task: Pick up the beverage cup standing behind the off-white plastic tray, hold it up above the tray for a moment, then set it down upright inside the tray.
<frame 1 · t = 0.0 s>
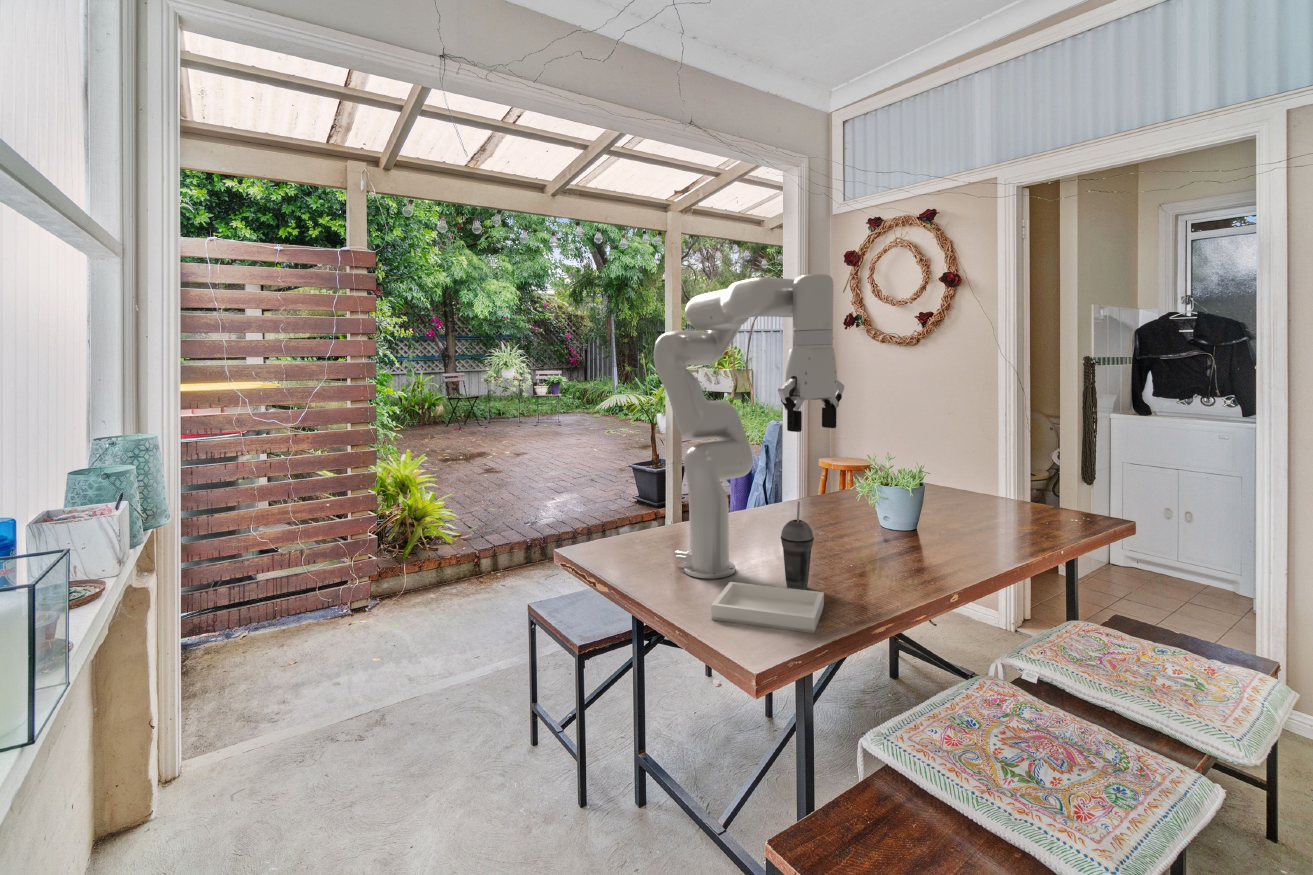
hand: (812, 429, 123), 37 cm above the table, tool pointing down, fingers open, 9 cm apart
beverage cup: (796, 588, 141), on the table
tray: (768, 612, 127), on the table
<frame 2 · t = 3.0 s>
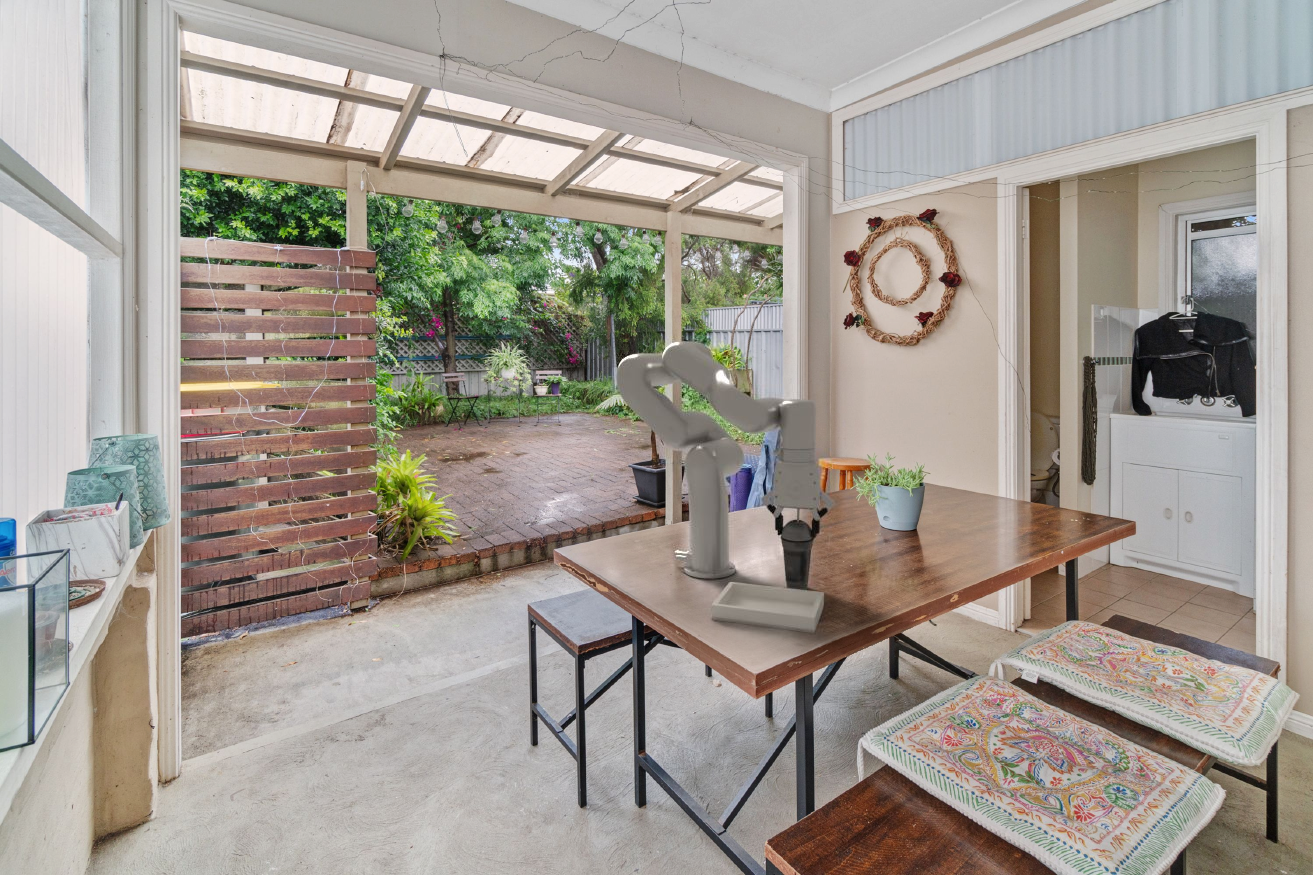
hand: (797, 534, 140), 12 cm above the table, tool pointing down, fingers closed on beverage cup, 6 cm apart
beverage cup: (796, 588, 141), on the table, touching gripper
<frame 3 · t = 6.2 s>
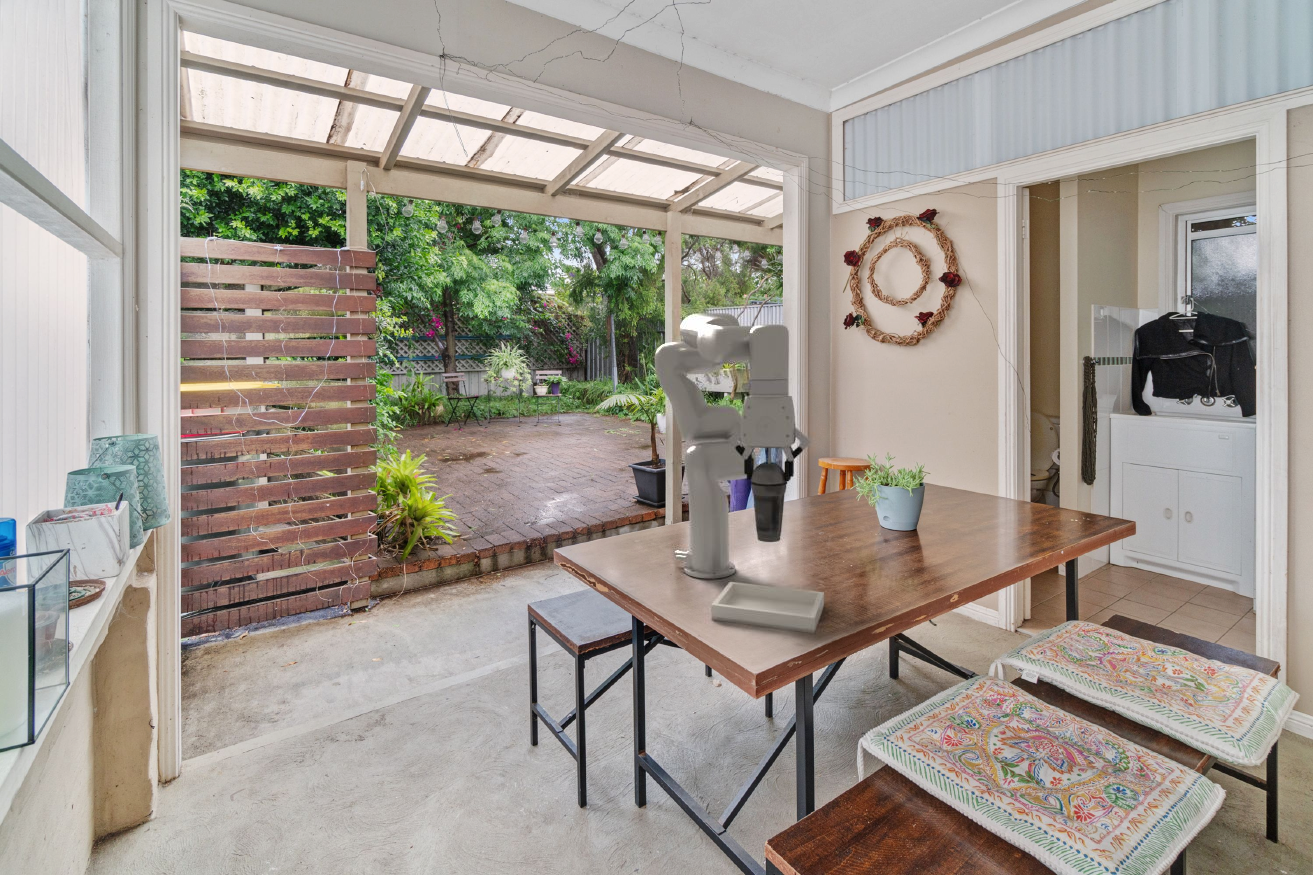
hand: (768, 478, 124), 28 cm above the table, tool pointing down, fingers closed on beverage cup, 6 cm apart
beverage cup: (768, 539, 126), point 15 cm above the table, touching gripper
when the fingers open (15 cm above the table, at t = 9.7 s): beverage cup drops 2 cm, resting on tray.
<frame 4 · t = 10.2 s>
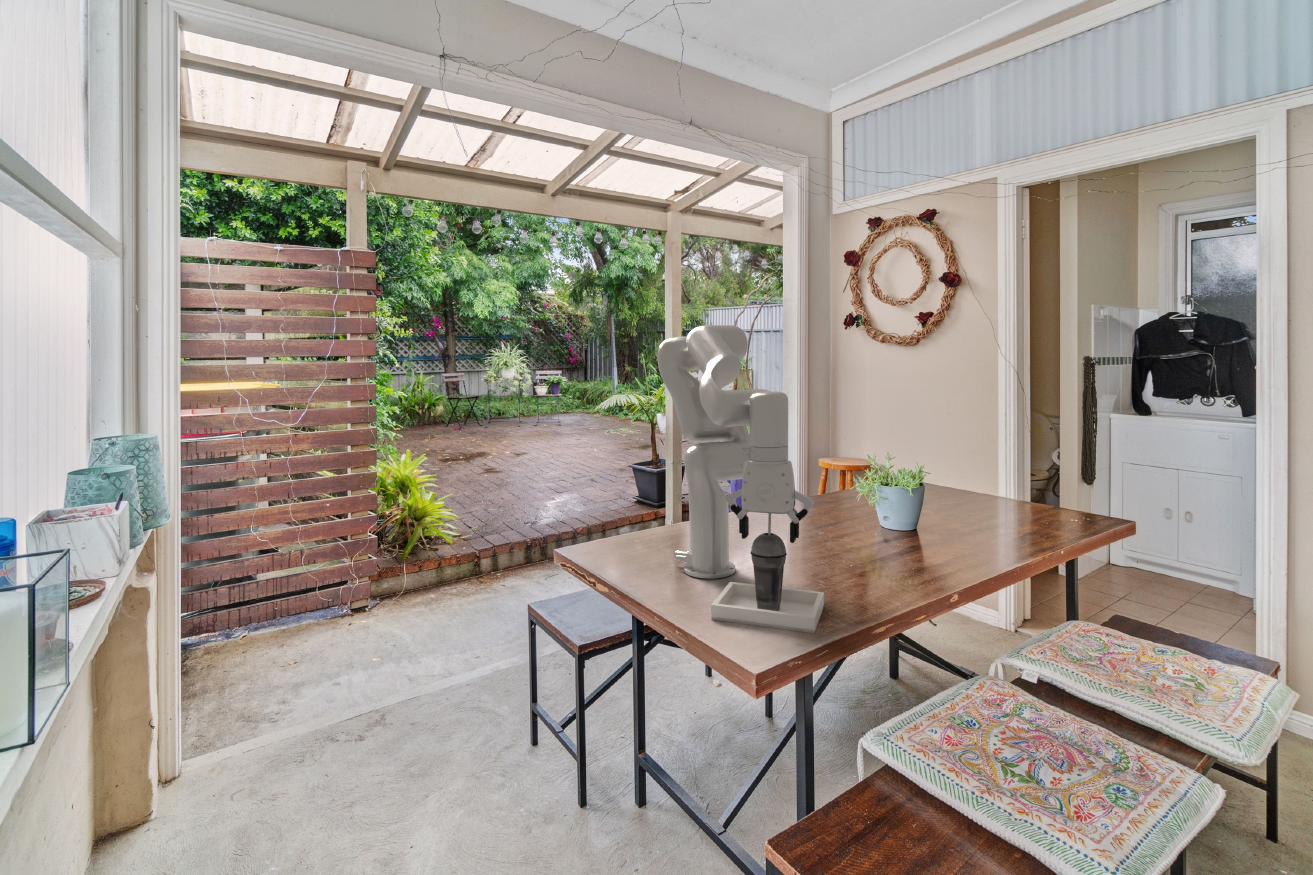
hand: (768, 539, 126), 15 cm above the table, tool pointing down, fingers open, 9 cm apart
beverage cup: (768, 609, 128), resting on tray
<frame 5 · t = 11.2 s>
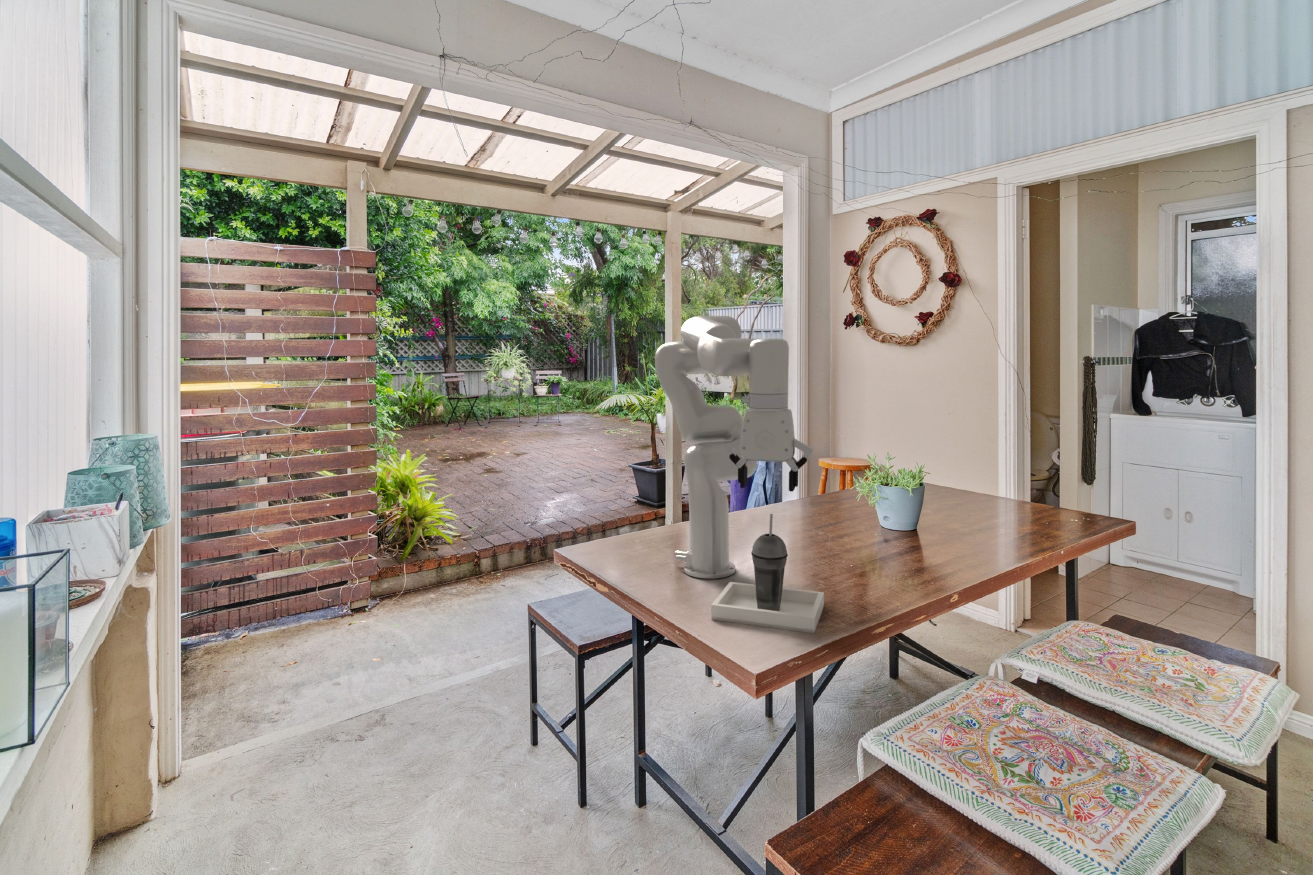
hand: (767, 488, 125), 26 cm above the table, tool pointing down, fingers open, 9 cm apart
nothing on the table moved.
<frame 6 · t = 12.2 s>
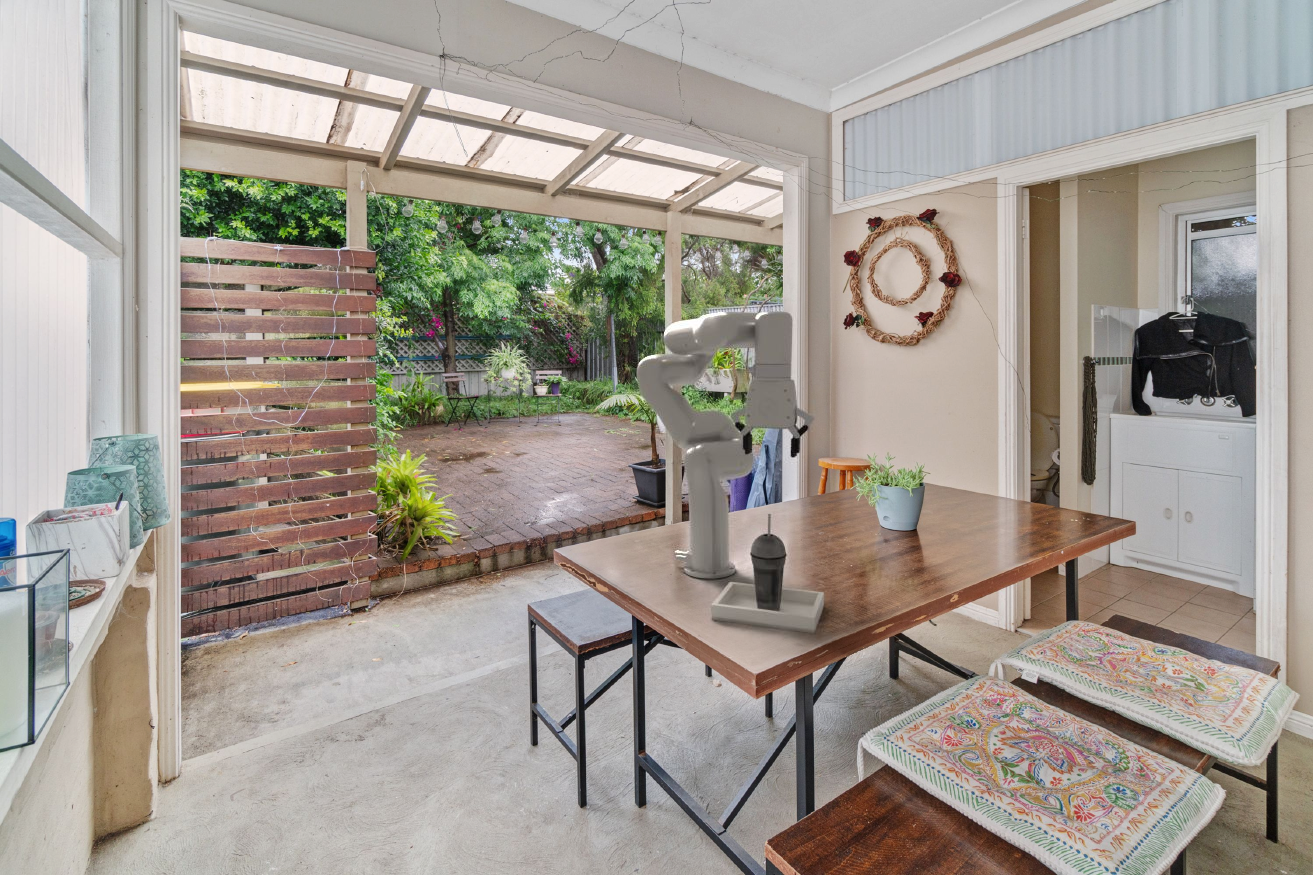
hand: (770, 454, 131), 31 cm above the table, tool pointing down, fingers open, 9 cm apart
nothing on the table moved.
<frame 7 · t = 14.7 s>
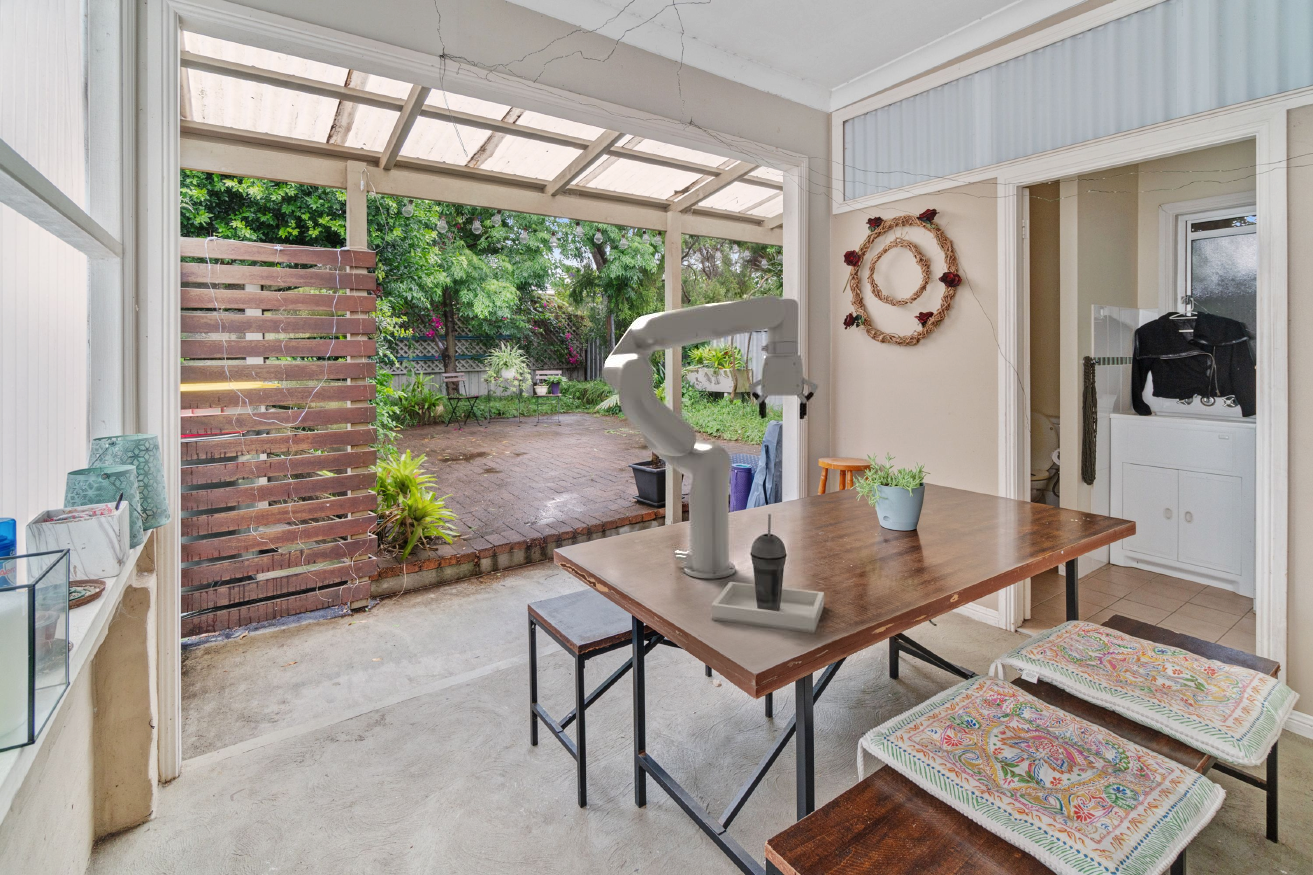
hand: (782, 418, 158), 36 cm above the table, tool pointing down, fingers open, 9 cm apart
nothing on the table moved.
at the end: beverage cup inside the target area on the tray (0.3 cm from its centre), point 0.4 cm above the tray's base; beverage cup tilted 0°; the gripper is holding nothing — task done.
